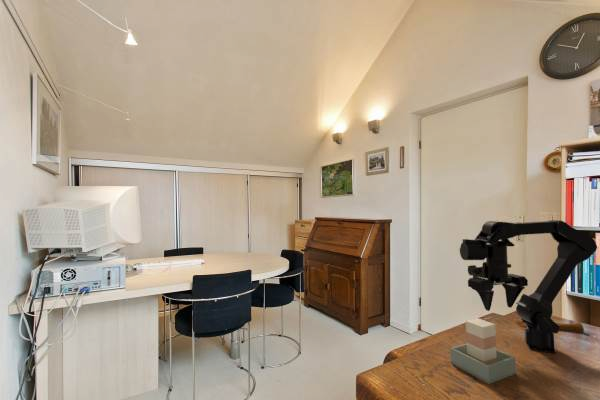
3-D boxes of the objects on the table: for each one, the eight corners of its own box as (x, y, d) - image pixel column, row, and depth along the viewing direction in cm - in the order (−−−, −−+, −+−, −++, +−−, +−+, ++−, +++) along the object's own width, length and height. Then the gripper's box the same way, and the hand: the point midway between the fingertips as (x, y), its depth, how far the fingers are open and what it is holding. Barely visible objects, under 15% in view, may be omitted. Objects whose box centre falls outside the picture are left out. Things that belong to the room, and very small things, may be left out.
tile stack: (479, 360, 83) (477, 318, 83) (497, 368, 78) (495, 324, 79) (467, 363, 81) (465, 320, 82) (484, 373, 76) (482, 327, 77)
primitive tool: (519, 328, 107) (518, 318, 107) (514, 322, 112) (514, 313, 112) (586, 335, 100) (585, 325, 100) (578, 329, 105) (577, 319, 105)
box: (476, 354, 87) (476, 340, 87) (515, 373, 77) (515, 357, 77) (450, 363, 83) (450, 348, 83) (488, 383, 73) (488, 366, 73)
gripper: (495, 254, 103) (497, 298, 103) (453, 258, 98) (455, 304, 97) (527, 259, 92) (530, 308, 92) (482, 263, 87) (484, 315, 87)
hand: (498, 308), depth 92 cm, fingers open, 9 cm apart
